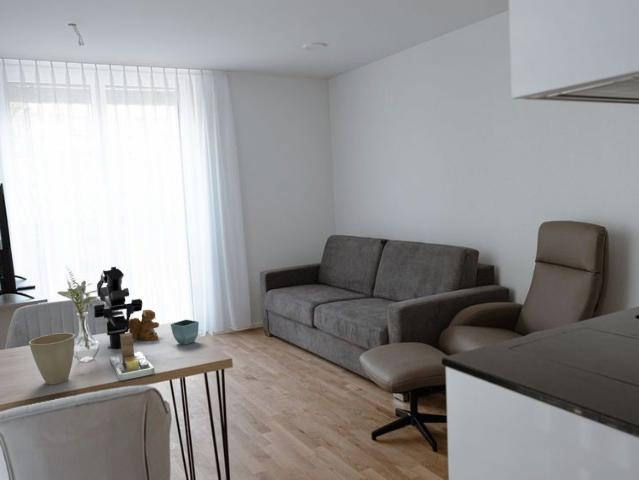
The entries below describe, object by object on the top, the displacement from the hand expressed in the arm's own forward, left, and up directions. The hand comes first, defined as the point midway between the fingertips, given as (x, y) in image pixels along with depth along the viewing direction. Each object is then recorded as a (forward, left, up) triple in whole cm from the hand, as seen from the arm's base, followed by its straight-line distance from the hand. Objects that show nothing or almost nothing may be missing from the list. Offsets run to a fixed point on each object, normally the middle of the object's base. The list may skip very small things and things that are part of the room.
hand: (121, 325), depth 225 cm
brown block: (+10, -7, -13) cm, 17 cm away
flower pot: (+11, +25, -14) cm, 30 cm away
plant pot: (-4, -28, -14) cm, 32 cm away
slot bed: (+10, -7, -14) cm, 18 cm away
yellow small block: (+16, -11, -13) cm, 23 cm away
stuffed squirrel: (-13, +24, -14) cm, 30 cm away
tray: (+21, -15, -14) cm, 29 cm away
